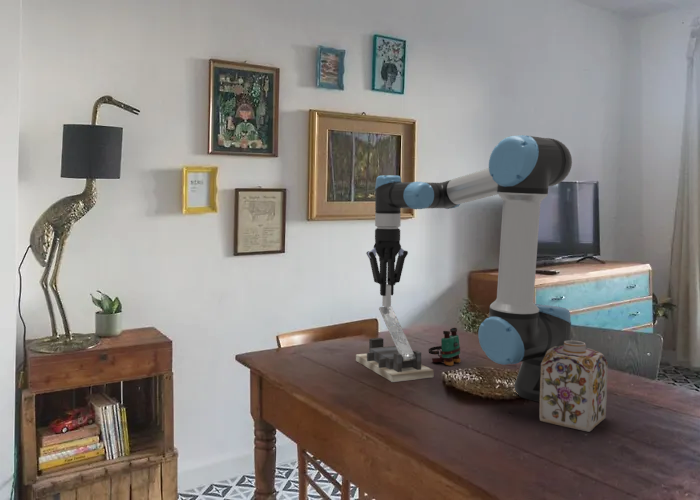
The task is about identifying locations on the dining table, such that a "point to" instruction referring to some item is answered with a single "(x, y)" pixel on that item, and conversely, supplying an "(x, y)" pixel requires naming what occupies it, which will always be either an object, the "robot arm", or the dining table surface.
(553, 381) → the decorative jar
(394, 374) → the heatsink mount
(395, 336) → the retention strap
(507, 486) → the dining table surface
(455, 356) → the binoculars
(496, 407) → the dining table surface
